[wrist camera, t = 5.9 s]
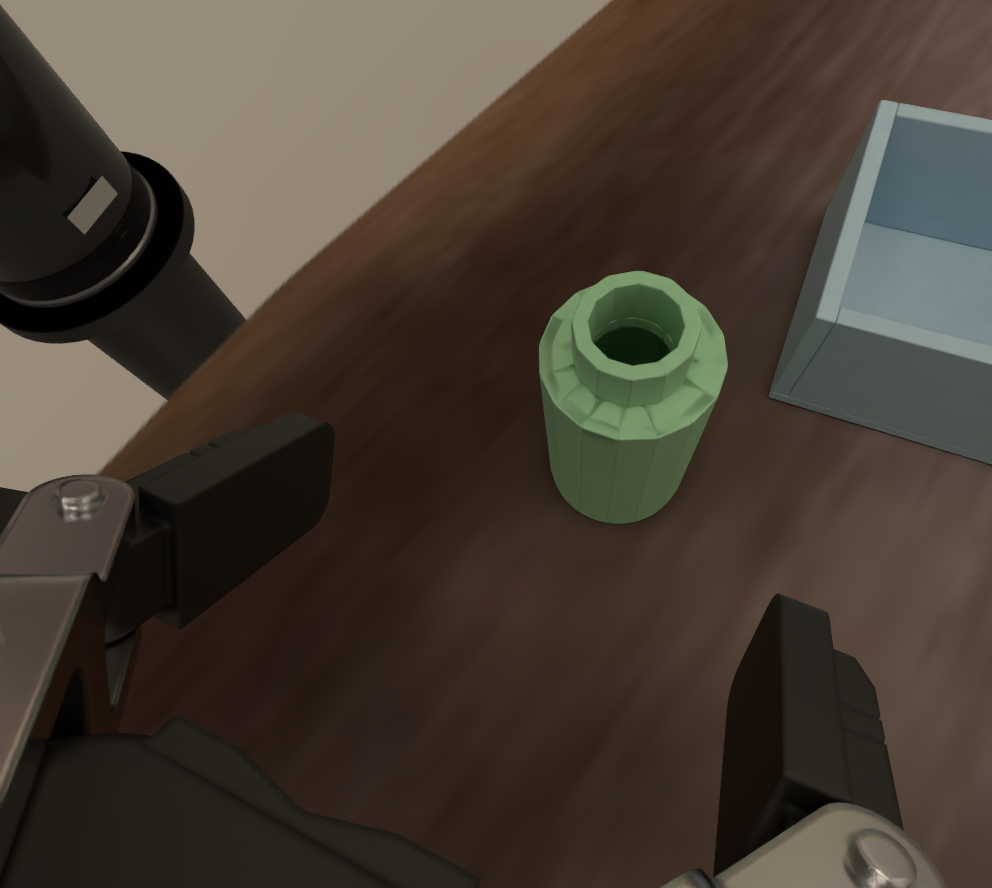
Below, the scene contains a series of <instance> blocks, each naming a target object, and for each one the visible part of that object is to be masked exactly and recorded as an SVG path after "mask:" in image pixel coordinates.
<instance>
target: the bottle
mask: <svg viewBox="0 0 992 888" xmlns="http://www.w3.org/2000/svg"><path fill="white" fill-rule="evenodd" d="M727 367H728V362H727V355H726V348H725V340H724V335H723V333H722V331H721V330H720V328H719V327H718V325H717V323H716V322H715V320H714V319H713V317H712V316H711V314H710V313H709V311H708V310H707V308H706V307H705V306H704V305H703V304H701V303H700V302H699V301H697V300H696V299H694V298H693V297H691V296H690V295H689V294H687V293H686V292H685V291H684V290H683V289H682V288H681V287H680V286H679V285H677V284H676V283H675V282H674V281H673V280H671V279H670V278H666V277H663V276H659V275H655V274H651V273H648V272H644V271H633V272H627V273H622V274H616V275H610V276H608V277H606V278H604V279H603V280H601V281H600V282H599V283H597V284H596V285H594V286H591V287H589V288H586V289H584V290H581V291H579V292H577V293H576V294H574V295H573V296H572V297H571V298H570V299H569V300H568V301H567V302H566V303H565V304H563V305H562V306H561V307H560V308H559V309H558V310H557V311H556V312H555V313H554V314H553V315H552V317H551V319H550V321H549V323H548V325H547V327H546V330H545V332H544V334H543V336H542V339H541V341H540V345H539V374H540V383H541V391H542V400H543V408H544V416H545V425H546V433H547V442H548V450H549V459H550V467H551V472H552V474H553V478H554V481H555V483H556V486H557V488H558V490H559V491H560V493H561V495H562V496H563V497H564V499H565V500H566V501H567V502H568V503H569V504H570V505H571V506H572V507H573V508H574V509H576V510H577V511H578V512H580V513H582V514H583V515H585V516H587V517H589V518H591V519H594V520H597V521H600V522H605V523H611V524H624V523H632V522H636V521H639V520H642V519H645V518H647V517H649V516H651V515H653V514H655V513H656V512H658V511H659V510H660V509H661V508H663V507H664V506H665V505H666V504H667V503H668V502H669V500H670V499H671V498H672V496H673V495H674V493H675V492H676V491H677V489H678V487H679V485H680V483H681V480H682V478H683V476H684V473H685V471H686V469H687V467H688V464H689V462H690V460H691V458H692V455H693V453H694V451H695V448H696V446H697V444H698V442H699V439H700V437H701V435H702V432H703V430H704V428H705V426H706V423H707V421H708V419H709V417H710V414H711V412H712V410H713V407H714V405H715V403H716V401H717V398H718V396H719V393H720V390H721V387H722V384H723V381H724V378H725V375H726V372H727V369H728V368H727Z"/></svg>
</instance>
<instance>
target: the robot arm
mask: <svg viewBox="0 0 992 888" xmlns="http://www.w3.org/2000/svg"><path fill="white" fill-rule="evenodd" d="M159 223H160V206H159V201H158V198H157V196H156V193H155V191H154V190H153V188H152V187H151V186H150V184H149V183H148V182H147V181H146V179H145V178H144V177H143V176H142V175H141V174H140V173H139V172H138V171H137V170H136V169H134V168H133V167H132V165H131V164H130V163H129V162H128V160H127V159H126V158H125V157H124V156H123V154H122V153H121V152H120V151H119V150H118V148H117V147H116V146H115V145H114V143H113V142H112V141H111V140H110V139H109V137H108V136H107V135H106V134H105V132H104V131H103V129H102V128H101V127H100V126H99V125H98V123H97V122H96V121H95V120H94V119H93V117H92V116H91V115H90V114H89V112H88V111H87V110H86V109H85V107H84V106H83V105H82V104H81V103H80V101H79V100H78V99H77V98H76V96H75V95H74V94H73V93H72V92H71V91H70V89H69V88H68V87H67V85H66V84H65V83H64V82H63V81H62V79H61V78H60V77H59V76H58V75H57V73H56V72H55V71H54V70H53V68H52V67H51V66H50V65H49V63H48V62H47V61H46V60H45V59H44V58H43V56H42V55H41V54H40V53H39V51H38V50H37V49H36V48H35V46H33V44H32V43H31V41H30V40H29V39H28V38H27V37H26V35H25V34H24V33H23V32H22V31H21V29H20V28H19V27H18V26H17V24H16V23H15V22H14V21H13V20H12V18H11V17H10V16H9V15H8V14H7V12H6V11H5V10H4V9H3V7H2V6H1V5H0V293H2V294H3V295H4V296H6V297H7V298H8V299H10V300H11V301H13V302H15V303H16V304H19V305H21V306H24V307H27V308H31V309H36V310H58V309H65V308H70V307H73V306H77V305H80V304H83V303H86V302H88V301H91V300H93V299H95V298H97V297H99V296H101V295H103V294H105V293H106V292H108V291H109V290H111V289H113V288H114V287H115V286H117V285H118V284H120V283H121V282H122V281H123V280H124V279H126V278H127V277H128V276H129V275H130V274H131V273H132V272H133V271H134V270H135V269H136V268H137V267H138V265H139V264H140V263H141V262H142V260H143V259H144V258H145V256H146V255H147V253H148V252H149V250H150V248H151V246H152V244H153V242H154V240H155V237H156V235H157V231H158V228H159ZM334 443H335V432H334V429H333V427H332V426H331V425H330V424H328V423H325V422H323V421H320V420H317V419H315V418H312V417H309V416H307V415H304V414H301V413H299V412H295V411H292V412H289V413H287V414H285V415H283V416H281V417H279V418H277V419H274V420H272V421H270V422H268V423H266V424H264V425H262V426H256V427H251V428H246V429H241V430H236V431H231V432H229V433H227V434H225V435H223V436H221V437H219V438H217V439H214V440H212V441H210V442H209V444H208V445H206V444H204V445H202V446H200V447H198V448H195V449H193V450H191V452H190V454H187V453H185V454H183V455H181V456H179V457H176V458H174V459H172V460H170V461H168V462H166V463H164V464H162V465H159V466H157V467H155V468H153V469H151V470H149V471H147V472H145V473H143V474H140V475H138V476H136V477H134V478H132V479H130V480H128V481H126V482H123V481H121V480H119V479H116V478H113V477H109V476H103V475H92V474H91V475H73V476H66V477H62V478H58V479H54V480H51V481H48V482H45V483H43V484H41V485H39V486H37V487H35V488H34V489H32V490H31V491H30V492H24V491H18V490H13V489H7V488H1V487H0V888H478V886H479V883H480V880H481V878H479V877H477V876H475V875H473V874H471V873H469V872H468V871H466V870H464V869H462V868H460V867H458V866H456V865H455V864H453V863H451V862H449V861H447V860H445V859H443V858H442V857H440V856H438V855H436V854H434V853H432V852H431V851H429V850H427V849H425V848H423V847H421V846H419V845H418V844H416V843H414V842H412V841H410V840H408V839H406V838H405V837H403V836H401V835H399V834H396V833H392V832H388V831H383V830H379V829H375V828H371V827H367V826H363V825H358V824H354V823H350V822H346V821H342V820H338V819H333V818H329V817H325V816H321V815H317V814H313V813H310V812H307V811H305V810H303V809H302V808H300V807H299V806H298V805H297V804H296V803H295V802H294V801H293V800H292V799H291V798H290V797H289V796H288V795H287V794H286V793H285V792H284V791H283V790H282V789H281V788H280V787H279V786H278V785H277V784H276V783H275V782H274V781H273V780H272V779H271V778H270V777H269V776H268V775H267V774H266V773H265V772H264V771H263V770H262V769H261V768H260V767H259V766H258V765H257V764H256V763H255V762H254V761H253V760H252V759H251V758H250V757H249V756H248V755H247V754H246V753H245V751H243V750H241V749H240V748H238V747H236V746H234V745H232V744H230V743H228V742H227V741H225V740H223V739H221V738H219V737H217V736H215V735H214V734H212V733H210V732H208V731H206V730H204V729H203V728H201V727H199V726H197V725H195V724H193V723H191V722H190V721H188V720H186V719H184V718H182V717H180V716H178V715H177V714H176V715H175V716H174V717H173V718H172V719H171V720H169V721H168V722H167V723H166V724H165V725H164V726H163V727H162V728H161V729H160V730H158V731H157V732H156V733H155V734H154V735H153V736H147V735H138V734H129V733H118V730H119V725H120V722H121V718H122V714H123V710H124V706H125V702H126V698H127V694H128V690H129V686H130V682H131V678H132V674H133V671H134V667H135V663H136V659H137V655H138V651H139V647H140V643H141V638H142V630H141V624H142V623H144V622H145V621H147V620H148V619H149V618H151V617H152V616H154V617H156V618H158V619H160V620H162V621H164V622H166V623H168V624H170V625H172V626H174V627H176V628H178V629H182V628H183V627H184V626H186V625H187V624H188V623H190V622H191V621H192V620H194V619H195V618H196V617H197V616H199V615H200V614H201V613H203V612H204V611H205V610H207V609H208V608H209V607H210V606H212V605H213V604H214V603H216V602H217V601H218V600H220V599H221V598H222V597H224V596H225V595H226V594H227V593H229V592H230V591H231V590H233V589H234V588H235V587H237V586H238V585H239V584H240V583H242V582H243V581H244V580H246V579H247V578H248V577H250V576H251V575H252V574H254V573H255V572H256V571H257V570H259V569H260V568H261V567H263V566H264V565H265V564H267V563H268V562H269V561H270V560H272V559H273V558H274V557H276V556H277V555H278V554H280V553H281V552H282V551H283V550H285V549H286V548H287V547H289V546H290V545H291V544H293V543H294V542H295V541H297V540H298V539H299V538H300V537H302V536H303V535H304V534H306V533H307V532H308V531H310V530H311V529H312V528H313V527H314V526H315V525H316V524H317V523H318V522H319V520H320V519H321V517H322V515H323V514H324V512H325V509H326V507H327V504H328V500H329V492H330V482H331V473H332V463H333V453H334ZM879 717H880V711H879V706H878V701H877V696H876V691H875V687H874V685H873V684H872V682H871V681H870V679H869V678H868V676H867V675H866V673H865V672H864V670H863V669H862V668H861V666H860V665H859V663H858V662H857V660H856V659H855V657H852V656H849V655H847V654H844V653H842V652H839V651H837V650H834V649H833V642H832V634H831V627H830V619H829V615H828V613H827V612H826V611H823V610H821V609H818V608H815V607H813V606H810V605H807V604H805V603H802V602H799V601H797V600H794V599H791V598H789V597H786V596H783V595H781V594H776V595H775V596H774V597H773V598H772V600H771V601H770V603H769V605H768V607H767V609H766V611H765V613H764V615H763V617H762V619H761V621H760V623H759V625H758V628H757V630H756V632H755V634H754V636H753V638H752V640H751V642H750V644H749V646H748V648H747V650H746V652H745V654H744V656H743V658H742V660H741V663H740V665H739V667H738V669H737V672H736V674H735V677H734V680H733V683H732V686H731V690H730V694H729V699H728V706H727V717H726V729H725V741H724V753H723V765H722V777H721V789H720V801H719V813H718V826H717V838H716V850H715V862H714V874H713V878H711V879H709V877H708V876H707V875H706V874H705V872H704V871H703V870H702V869H693V870H690V871H688V872H686V873H684V874H682V875H680V876H678V877H677V878H675V879H673V880H672V881H670V882H669V883H667V884H665V885H664V886H662V887H661V888H947V885H946V883H945V881H944V879H943V877H942V875H941V874H940V872H939V870H938V869H937V867H936V866H935V864H934V863H933V861H932V860H931V859H930V858H929V856H928V855H927V854H926V853H925V851H924V850H923V849H922V848H921V847H920V846H919V845H918V844H917V843H916V842H915V841H914V840H913V839H912V838H911V837H910V836H909V835H908V834H906V833H905V832H904V830H903V825H902V820H901V815H900V810H899V805H898V800H897V795H896V790H895V785H894V780H893V775H892V770H891V766H890V761H889V756H888V751H887V746H886V745H885V744H884V740H885V736H884V731H883V726H882V721H880V720H879Z"/></svg>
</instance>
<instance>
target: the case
mask: <svg viewBox="0 0 992 888" xmlns="http://www.w3.org/2000/svg"><path fill="white" fill-rule="evenodd" d="M768 397H769V398H773V399H776V400H779V401H783V402H786V403H789V404H793V405H796V406H799V407H803V408H806V409H809V410H812V411H816V412H819V413H822V414H826V415H829V416H832V417H836V418H839V419H842V420H846V421H849V422H852V423H856V424H859V425H862V426H865V427H869V428H872V429H875V430H879V431H882V432H885V433H889V434H892V435H895V436H899V437H902V438H905V439H908V440H912V441H915V442H918V443H922V444H925V445H928V446H932V447H935V448H938V449H942V450H945V451H948V452H952V453H955V454H958V455H961V456H965V457H968V458H971V459H975V460H978V461H981V462H985V463H988V464H991V465H992V120H989V119H983V118H978V117H973V116H967V115H962V114H956V113H951V112H946V111H940V110H935V109H929V108H924V107H918V106H913V105H908V104H902V103H901V104H899V105H898V103H897V102H891V101H886V100H881V101H880V102H879V104H878V106H877V108H876V110H875V112H874V114H873V117H872V119H871V121H870V123H869V125H868V127H867V129H866V131H865V133H864V135H863V137H862V139H861V141H860V143H859V145H858V147H857V149H856V151H855V153H854V155H853V157H852V159H851V161H850V163H849V165H848V167H847V169H846V171H845V173H844V176H843V178H842V180H841V182H840V184H839V186H838V188H837V190H836V192H835V194H834V196H833V198H832V200H831V202H830V204H829V206H828V208H827V210H826V213H825V216H824V219H823V222H822V225H821V229H820V232H819V235H818V238H817V241H816V245H815V248H814V251H813V254H812V257H811V260H810V264H809V267H808V270H807V273H806V276H805V280H804V283H803V286H802V289H801V292H800V296H799V299H798V302H797V305H796V308H795V311H794V315H793V318H792V321H791V324H790V327H789V331H788V334H787V337H786V340H785V343H784V347H783V350H782V353H781V356H780V359H779V363H778V366H777V369H776V372H775V375H774V378H773V382H772V385H771V388H770V391H769V394H768Z"/></svg>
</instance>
